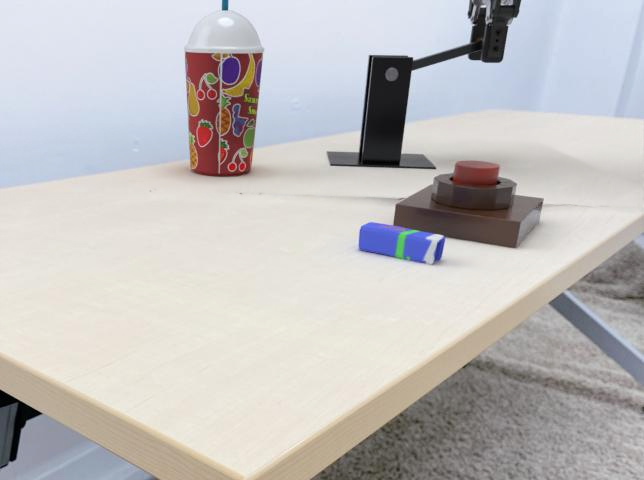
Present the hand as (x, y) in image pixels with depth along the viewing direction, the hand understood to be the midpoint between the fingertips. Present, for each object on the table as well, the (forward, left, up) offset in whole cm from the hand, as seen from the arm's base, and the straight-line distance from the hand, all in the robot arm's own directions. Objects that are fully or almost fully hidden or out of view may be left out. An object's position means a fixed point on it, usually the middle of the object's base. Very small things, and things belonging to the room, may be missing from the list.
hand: (484, 60), depth 80 cm
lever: (+5, +2, -1) cm, 5 cm away
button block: (-7, +26, -12) cm, 29 cm away
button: (-7, +26, -9) cm, 28 cm away
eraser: (-5, +38, -13) cm, 40 cm away
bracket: (+9, +5, -12) cm, 16 cm away
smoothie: (+21, +22, -13) cm, 33 cm away
